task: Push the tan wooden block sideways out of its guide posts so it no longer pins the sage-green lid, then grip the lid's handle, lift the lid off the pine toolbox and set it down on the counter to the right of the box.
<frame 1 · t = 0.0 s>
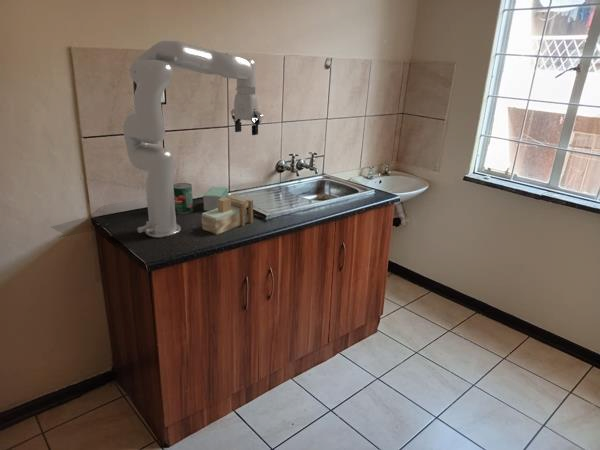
hand: (246, 133, 189), 31 cm above the worktop, tool pointing down, fingers open, 9 cm apart
toolbox: (225, 227, 172), on the worktop
canned tomato: (183, 210, 189), on the worktop
tan wooden block: (237, 201, 174), point 9 cm above the worktop, slide at 0.0 cm
box: (216, 208, 194), on the worktop
lid: (224, 212, 170), point 6 cm above the worktop, touching toolbox
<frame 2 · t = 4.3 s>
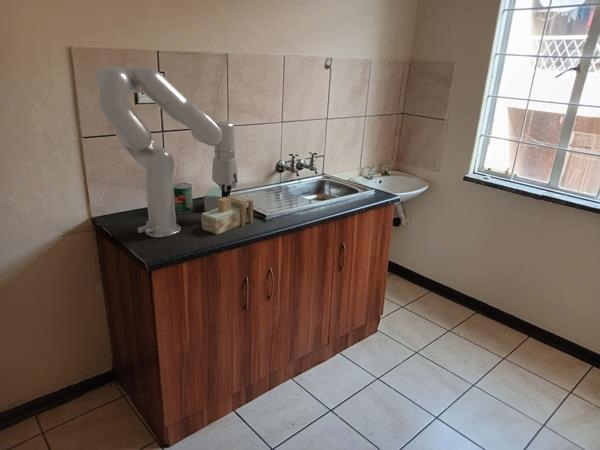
hand: (226, 199, 178), 8 cm above the worktop, tool pointing down, fingers closed
tan wooden block: (237, 201, 174), point 9 cm above the worktop, slide at 0.1 cm, touching gripper
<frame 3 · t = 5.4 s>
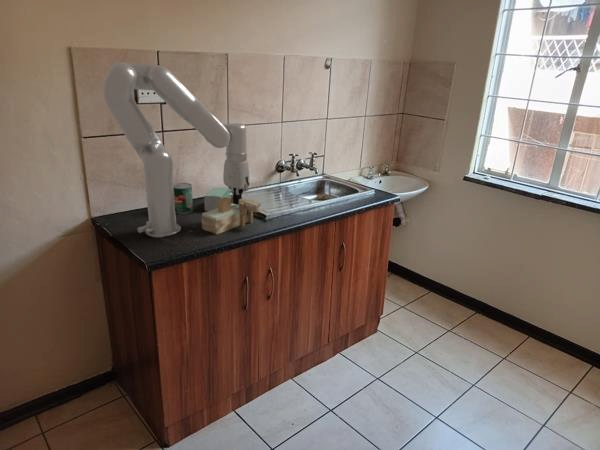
hand: (237, 203, 175), 8 cm above the worktop, tool pointing down, fingers closed
tan wooden block: (249, 205, 171), point 9 cm above the worktop, slide at 6.4 cm, touching gripper
everything else where it was.
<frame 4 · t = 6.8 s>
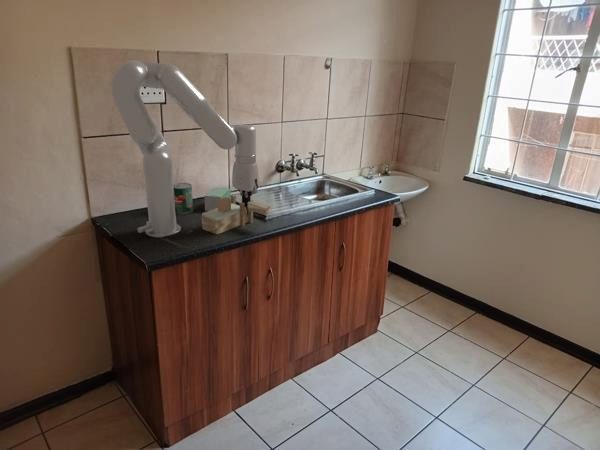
hand: (246, 206, 172), 8 cm above the worktop, tool pointing down, fingers closed
tan wooden block: (258, 208, 168), point 9 cm above the worktop, slide at 11.1 cm, touching gripper
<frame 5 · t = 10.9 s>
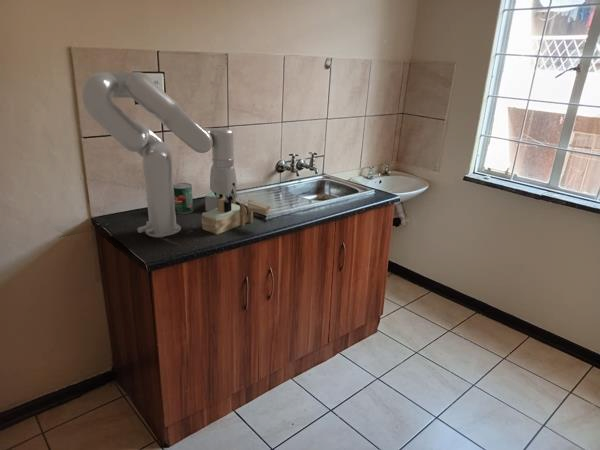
hand: (224, 209, 169), 7 cm above the worktop, tool pointing down, fingers closed on lid, 2 cm apart
tan wooden block: (258, 208, 168), point 9 cm above the worktop, slide at 11.0 cm
lid: (224, 212, 170), point 6 cm above the worktop, touching gripper, toolbox
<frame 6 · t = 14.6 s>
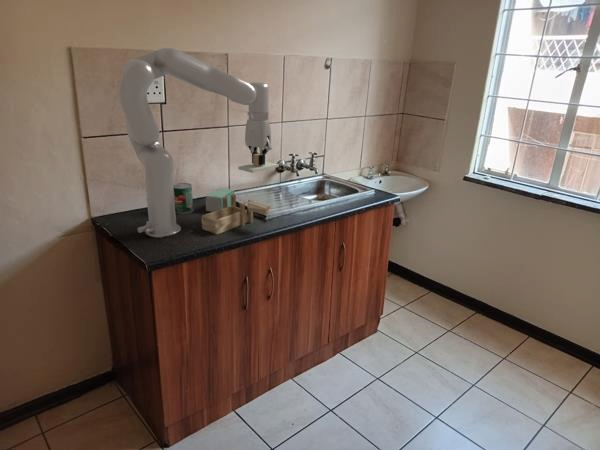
hand: (258, 163, 177), 22 cm above the worktop, tool pointing down, fingers closed on lid, 2 cm apart
lid: (259, 168, 178), point 20 cm above the worktop, touching gripper
when the fingers open (3 cm above the worktop, at t = 18.2 s): lid drops 2 cm, on the worktop.
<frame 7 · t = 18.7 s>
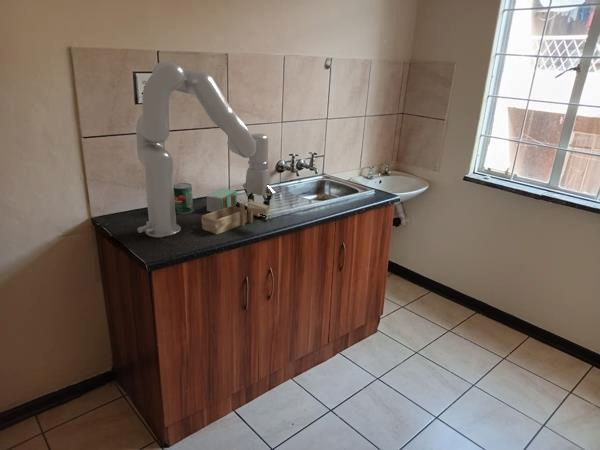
hand: (258, 207, 184), 4 cm above the worktop, tool pointing down, fingers open, 8 cm apart
lid: (258, 217, 185), on the worktop
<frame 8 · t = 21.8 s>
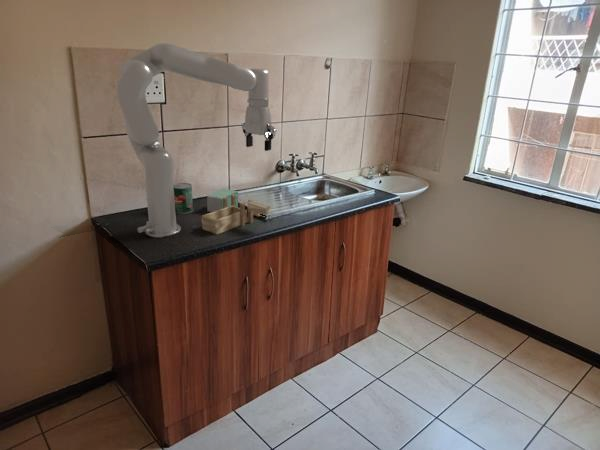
hand: (258, 148, 175), 28 cm above the worktop, tool pointing down, fingers open, 9 cm apart
at the end: tan wooden block slide at 11.0 cm; lid inside the target area (0.2 cm from its centre), on the worktop; lid tilted 0° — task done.
